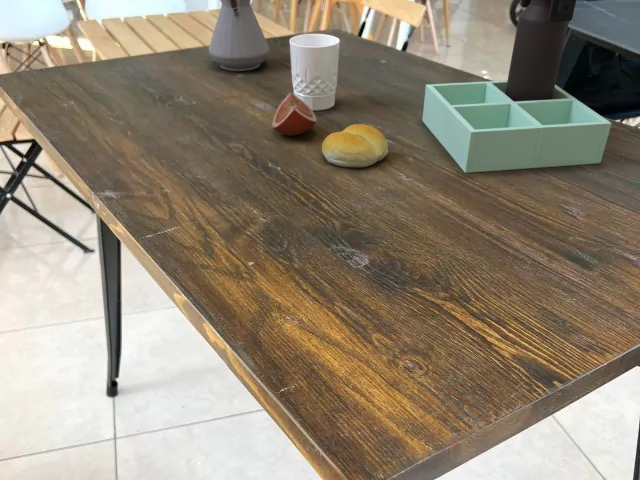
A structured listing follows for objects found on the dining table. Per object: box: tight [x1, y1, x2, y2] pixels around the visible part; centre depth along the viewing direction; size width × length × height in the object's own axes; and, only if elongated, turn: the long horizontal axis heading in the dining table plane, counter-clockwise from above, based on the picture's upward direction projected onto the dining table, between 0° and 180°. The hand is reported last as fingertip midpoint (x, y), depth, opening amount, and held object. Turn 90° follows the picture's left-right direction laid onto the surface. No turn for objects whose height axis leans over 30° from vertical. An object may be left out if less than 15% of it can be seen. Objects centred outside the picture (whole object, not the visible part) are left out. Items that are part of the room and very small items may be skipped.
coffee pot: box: [208, 0, 271, 72], centre depth 116 cm, size 21×12×15 cm, turn 4°
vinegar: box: [505, 0, 570, 102], centre depth 92 cm, size 7×7×20 cm
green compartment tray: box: [421, 79, 613, 174], centre depth 93 cm, size 19×19×6 cm
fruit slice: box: [271, 91, 318, 136], centre depth 95 cm, size 8×7×5 cm
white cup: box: [289, 33, 341, 112], centre depth 104 cm, size 8×8×10 cm
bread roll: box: [321, 123, 389, 168], centre depth 88 cm, size 8×9×4 cm
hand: (545, 13), depth 89 cm, fingers open, 8 cm apart
